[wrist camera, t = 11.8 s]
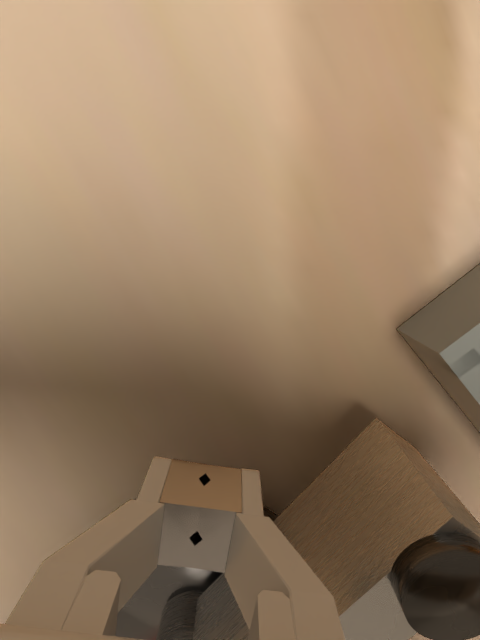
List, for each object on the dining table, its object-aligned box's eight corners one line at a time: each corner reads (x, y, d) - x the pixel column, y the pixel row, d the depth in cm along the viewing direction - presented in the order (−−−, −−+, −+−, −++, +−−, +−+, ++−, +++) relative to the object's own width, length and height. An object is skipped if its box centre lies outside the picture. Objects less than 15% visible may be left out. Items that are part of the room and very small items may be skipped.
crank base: (361, 593, 14) (372, 624, 13) (197, 698, 16) (194, 734, 15) (206, 447, 13) (203, 468, 11) (38, 582, 14) (20, 612, 13)
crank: (206, 656, 14) (186, 917, 8) (146, 624, 13) (86, 878, 8) (422, 451, 11) (581, 635, 6) (359, 403, 11) (474, 557, 6)
